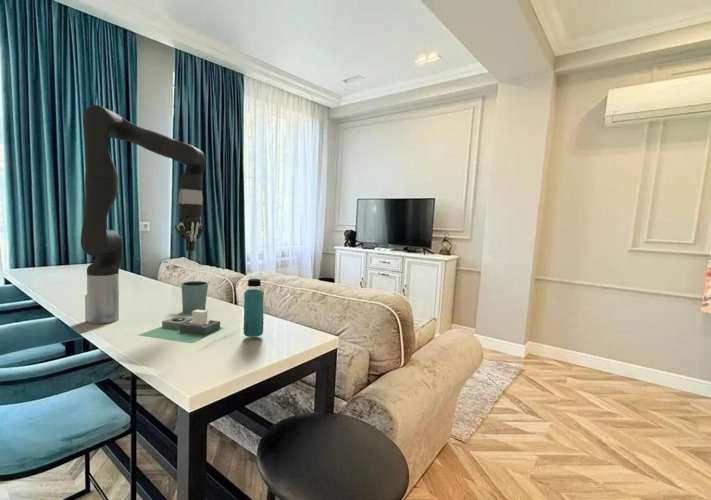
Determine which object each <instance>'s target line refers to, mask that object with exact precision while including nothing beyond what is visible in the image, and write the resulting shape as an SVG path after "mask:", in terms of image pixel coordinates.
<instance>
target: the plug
mask: <svg viewBox="0 0 711 500" xmlns="http://www.w3.org/2000/svg"><path fill="white" fill-rule="evenodd" d="M191 318H192V321H190V322H189V324H191V325H198V326H206V325H209V324H210V320H211V319H208V310H206V309H205V310H198V309H197V310H194V311H192V314H191Z"/></svg>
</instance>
